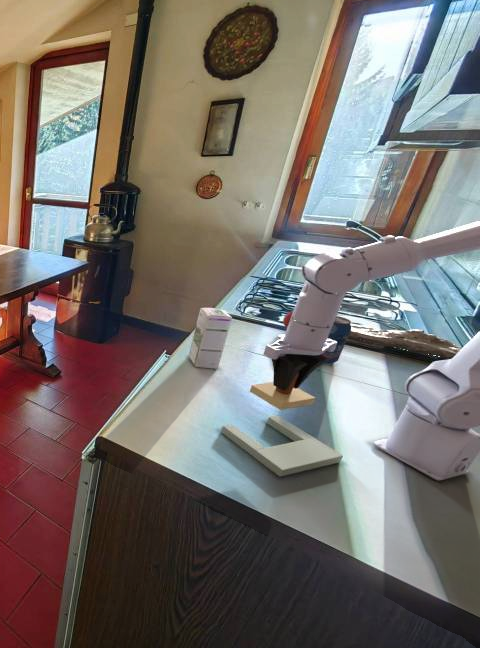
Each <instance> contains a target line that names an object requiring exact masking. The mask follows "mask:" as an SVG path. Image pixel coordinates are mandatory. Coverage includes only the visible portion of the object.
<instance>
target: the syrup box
mask: <svg viewBox="0 0 480 648" xmlns="http://www.w3.org/2000/svg"><path fill="white" fill-rule="evenodd" d="M198 313H199V314H198V317H197V321H196V323H195V328H194V333H193V336H192V340H191V344H190V347H189V348H190V349H189V352H188V356H187V357H188V358H189V360H190V362H191V363H192V364H193V365H194V367H196V368H204V369H214V370H218V369H219V366H220V362H221V359H222V356H223V352H224V349H225V346H226V342H227V337H228V334H229V332H230V331H229V330H230V327H231V323H232V320H233V316H231V315H230V314H229V313H228V312H227V311H226V310H225V309H222V308H216V307H200V309H199V312H198Z"/></svg>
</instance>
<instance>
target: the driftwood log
mask: <svg viewBox="0 0 480 648" xmlns="http://www.w3.org/2000/svg"><path fill="white" fill-rule="evenodd" d="M351 328H352V329H351V332H350V334H349V336H348V339H350V340H354V341H356V342H359V343H365V344H368V345H373V346H378V347H379V346H381V347H385V348H392V349H396V350H399V351H401V352H405V353H409V354H418V355H420V356H421V355H423V356H425V357H427V358H432V359H443V360H448V359H452V358H453V357H454V356H455V355H456V354H457V353H458V352H459V351H460V350H461V349H462V348H463V347H462V346H459V345H456V344H454V343H453V342H450V341H449V340H448V339H444V338H442V337H438V336H437V335H436V334H429V333H427V332H426V333H425V330H424V329H409V330H407V329H406V330H398V329H390V330H388V329H376V328H373V327H369V326H364V325H358V324H352V323H351ZM356 338H357V339H356ZM348 339H347V340H348ZM360 339H361V340H360ZM364 340H365V341H364ZM394 347H396V348H394ZM400 348H401V349H400ZM403 349H405V350H403ZM407 350H408V351H407ZM428 354H429V355H428ZM433 355H436V356H433ZM438 356H440V357H438Z"/></svg>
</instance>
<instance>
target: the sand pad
mask: <svg viewBox="0 0 480 648" xmlns="http://www.w3.org/2000/svg"><path fill="white" fill-rule="evenodd" d="M298 375H299V372H298V373H297V374H296V375H295V377H294V379H293V381H292V382H291V384H290V386H289V387H288V389H287V390H284V391H283V390H281V389H279V388H277V387H276V386H274V385H273V381H269V382H263V383H258V384H257V383H256V384H251V386H250V389H249V392H250V393H251V394H253V395H254V396H256V397H258V398H260V399H261V400H264V402H266V403H268V404H270V405H271V406H273V407H274V408H276V409H278V410H279V411H285V410H289V409H296V408H301V407H306V406H311V405H314V404H315V401H316V399H317V398H316V397H315V396H313V395H311V394H309V393H308V392H306V391H304V390H302V389H300V388H299V387H298V388H297V389H295V388H293V387H294V385H295V382H296V380H297V377H298Z"/></svg>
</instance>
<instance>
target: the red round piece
mask: <svg viewBox="0 0 480 648" xmlns="http://www.w3.org/2000/svg"><path fill="white" fill-rule="evenodd" d="M293 311H294V310H292V311H290V312H288V313H286V314H285V316H284V317H283V320H282V323H283V326H284V327H285V328H286V329H287V327H288V325H289V322H290V319H291V316H292V314H293Z"/></svg>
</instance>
